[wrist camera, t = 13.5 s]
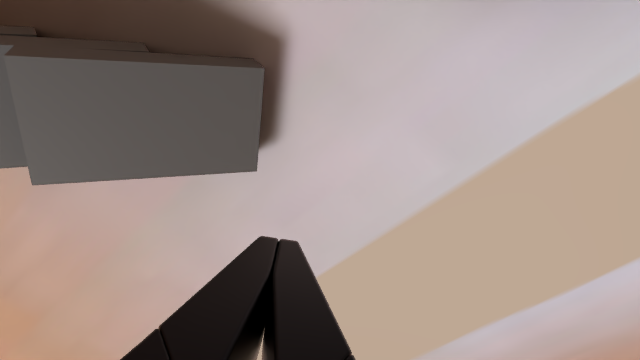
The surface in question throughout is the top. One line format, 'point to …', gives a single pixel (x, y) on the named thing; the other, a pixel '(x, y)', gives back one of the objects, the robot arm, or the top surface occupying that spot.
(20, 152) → the grey domino
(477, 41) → the top surface
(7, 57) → the gray rectangular block
